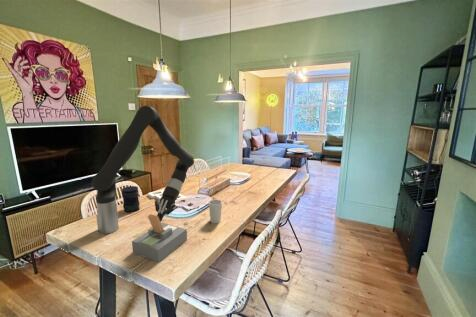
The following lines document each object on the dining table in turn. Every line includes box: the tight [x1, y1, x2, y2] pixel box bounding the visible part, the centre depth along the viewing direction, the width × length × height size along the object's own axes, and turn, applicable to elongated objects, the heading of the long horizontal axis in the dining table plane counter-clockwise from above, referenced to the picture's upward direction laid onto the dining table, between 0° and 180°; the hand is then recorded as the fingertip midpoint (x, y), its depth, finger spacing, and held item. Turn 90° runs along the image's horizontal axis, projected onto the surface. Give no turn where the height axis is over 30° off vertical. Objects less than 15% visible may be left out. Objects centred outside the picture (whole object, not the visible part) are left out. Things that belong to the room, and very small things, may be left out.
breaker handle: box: [147, 213, 164, 235], centre depth 109 cm, size 2×5×12 cm, turn 65°
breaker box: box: [131, 222, 188, 263], centre depth 113 cm, size 20×16×9 cm
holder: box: [147, 188, 187, 201], centre depth 170 cm, size 45×18×3 cm, turn 44°
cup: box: [208, 199, 223, 224], centre depth 139 cm, size 8×8×12 cm
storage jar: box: [121, 185, 141, 214], centre depth 153 cm, size 10×10×15 cm
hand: (157, 221), depth 109 cm, fingers closed
